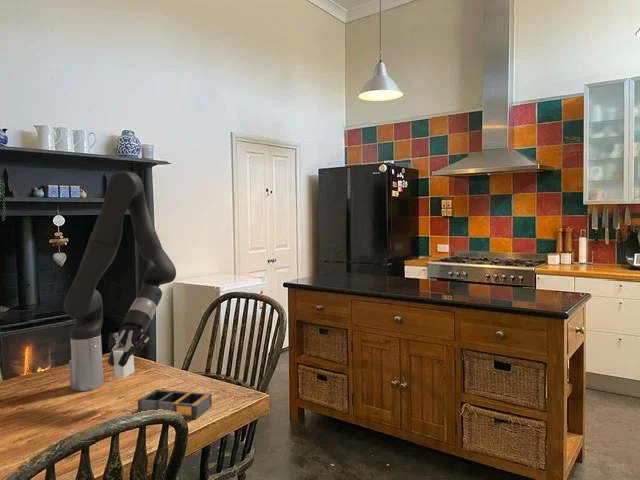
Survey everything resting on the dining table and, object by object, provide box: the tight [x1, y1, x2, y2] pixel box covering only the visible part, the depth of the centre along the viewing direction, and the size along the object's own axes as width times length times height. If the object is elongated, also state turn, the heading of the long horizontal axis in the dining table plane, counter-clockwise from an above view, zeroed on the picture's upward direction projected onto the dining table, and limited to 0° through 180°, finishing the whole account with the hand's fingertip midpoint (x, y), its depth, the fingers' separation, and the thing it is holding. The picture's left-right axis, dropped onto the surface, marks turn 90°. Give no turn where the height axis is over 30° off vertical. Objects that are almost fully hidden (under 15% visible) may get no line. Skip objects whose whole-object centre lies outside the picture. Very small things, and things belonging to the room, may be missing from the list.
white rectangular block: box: [113, 346, 135, 379], centre depth 141 cm, size 3×5×8 cm, turn 165°
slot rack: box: [137, 389, 213, 420], centre depth 136 cm, size 19×9×4 cm, turn 75°
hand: (115, 364), depth 137 cm, fingers closed on white rectangular block, 3 cm apart
